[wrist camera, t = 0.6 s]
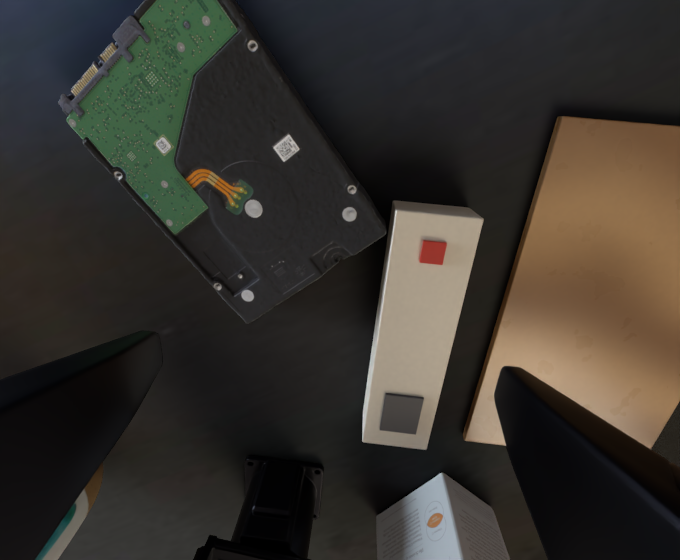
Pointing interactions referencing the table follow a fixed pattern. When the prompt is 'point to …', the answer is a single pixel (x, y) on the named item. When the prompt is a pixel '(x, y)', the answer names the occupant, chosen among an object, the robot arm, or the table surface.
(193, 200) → the disk drive
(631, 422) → the cork mat
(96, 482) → the vase
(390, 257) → the remote
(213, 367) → the table surface
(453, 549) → the small box
